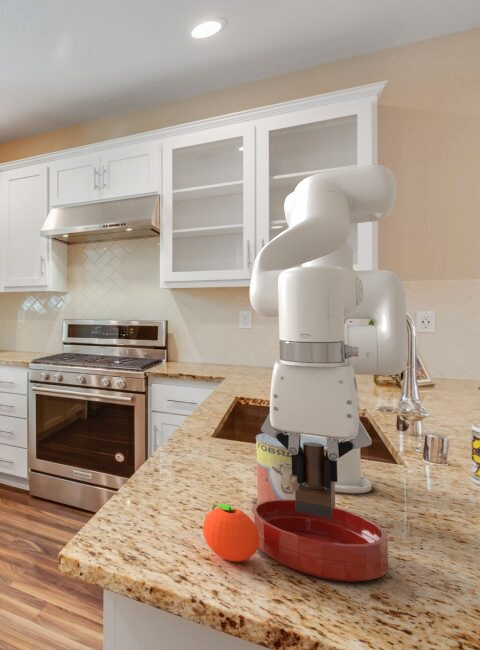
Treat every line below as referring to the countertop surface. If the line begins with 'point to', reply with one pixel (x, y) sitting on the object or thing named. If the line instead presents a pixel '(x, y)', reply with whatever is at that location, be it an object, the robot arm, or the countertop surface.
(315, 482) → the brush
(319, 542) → the bowl
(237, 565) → the countertop surface
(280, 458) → the canned food
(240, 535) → the clementine
